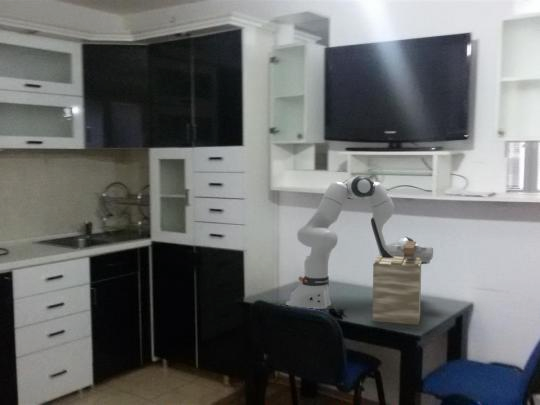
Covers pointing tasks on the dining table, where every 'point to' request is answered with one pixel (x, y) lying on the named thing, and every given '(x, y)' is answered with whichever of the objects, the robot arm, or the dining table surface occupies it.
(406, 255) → the rail bar
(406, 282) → the slotted stand
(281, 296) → the dining table surface
